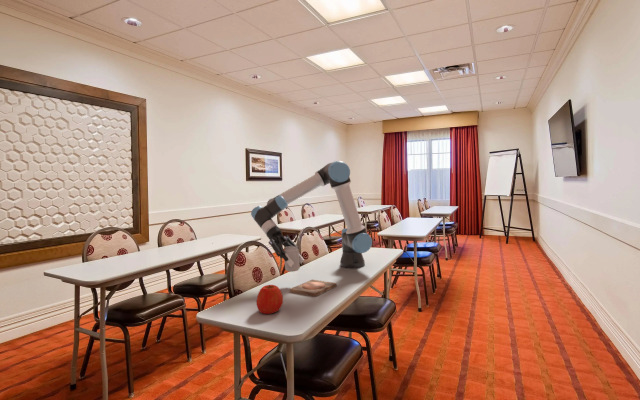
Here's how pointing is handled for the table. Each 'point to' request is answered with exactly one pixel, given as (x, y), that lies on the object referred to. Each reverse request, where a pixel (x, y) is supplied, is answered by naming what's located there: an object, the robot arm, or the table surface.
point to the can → (292, 258)
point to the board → (313, 287)
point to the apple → (269, 299)
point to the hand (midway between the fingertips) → (297, 263)
